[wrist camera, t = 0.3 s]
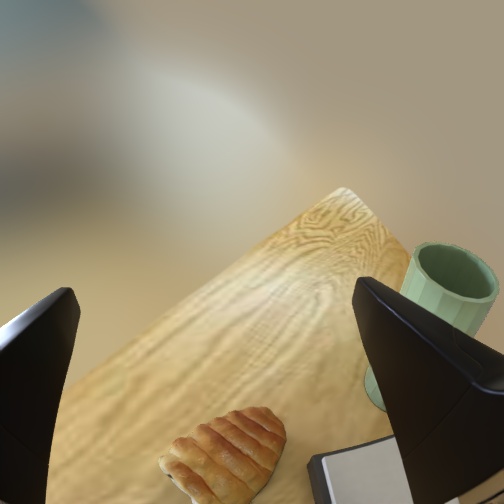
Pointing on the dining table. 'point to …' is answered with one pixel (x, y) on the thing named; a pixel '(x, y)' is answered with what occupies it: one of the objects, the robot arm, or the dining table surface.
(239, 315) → the dining table surface
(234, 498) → the pastry
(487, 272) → the cup
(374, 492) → the scale
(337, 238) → the dining table surface
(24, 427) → the robot arm
